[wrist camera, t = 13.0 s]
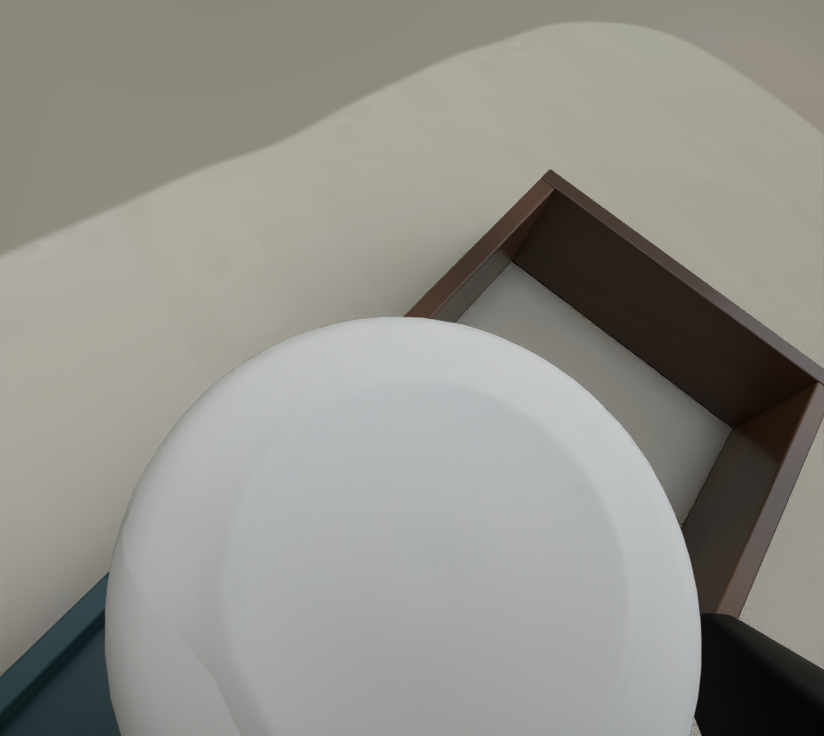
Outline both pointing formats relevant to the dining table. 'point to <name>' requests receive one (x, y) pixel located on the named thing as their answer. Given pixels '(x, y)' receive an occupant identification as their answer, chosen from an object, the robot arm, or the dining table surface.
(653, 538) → the sprinkles bottle
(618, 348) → the dining table surface
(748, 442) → the wooden box
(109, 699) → the tray
